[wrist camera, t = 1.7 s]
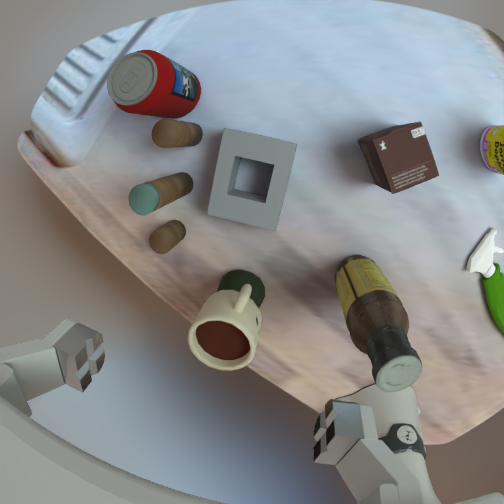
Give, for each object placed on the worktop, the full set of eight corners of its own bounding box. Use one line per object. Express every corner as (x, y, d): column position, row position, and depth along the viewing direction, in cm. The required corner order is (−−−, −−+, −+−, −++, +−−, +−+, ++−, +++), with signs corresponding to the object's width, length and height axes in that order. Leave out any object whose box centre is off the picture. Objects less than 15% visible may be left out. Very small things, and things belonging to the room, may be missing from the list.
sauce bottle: (352, 303, 40) (380, 414, 21) (324, 273, 39) (340, 381, 20) (388, 274, 38) (443, 374, 19) (361, 242, 37) (411, 332, 18)
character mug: (250, 327, 44) (232, 390, 31) (206, 306, 43) (174, 363, 31) (284, 267, 39) (276, 322, 27) (234, 243, 39) (206, 289, 27)
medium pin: (200, 148, 36) (175, 149, 28) (178, 144, 36) (149, 145, 28) (204, 124, 35) (180, 120, 27) (182, 121, 35) (154, 117, 27)
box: (374, 185, 34) (391, 195, 27) (356, 139, 33) (370, 138, 26) (415, 169, 32) (440, 176, 26) (399, 124, 31) (422, 120, 24)
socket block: (277, 222, 37) (275, 231, 34) (216, 207, 38) (207, 214, 34) (297, 144, 34) (297, 143, 30) (231, 129, 34) (224, 128, 31)
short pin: (184, 243, 40) (169, 256, 36) (164, 238, 41) (148, 250, 36) (187, 222, 39) (172, 233, 35) (166, 217, 39) (150, 227, 35)
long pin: (191, 197, 38) (153, 218, 28) (170, 192, 38) (127, 211, 28) (195, 174, 37) (157, 187, 27) (173, 170, 37) (130, 182, 27)
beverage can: (214, 88, 33) (177, 66, 22) (180, 129, 35) (132, 126, 24) (176, 60, 32) (130, 34, 21) (145, 100, 34) (90, 90, 23)
